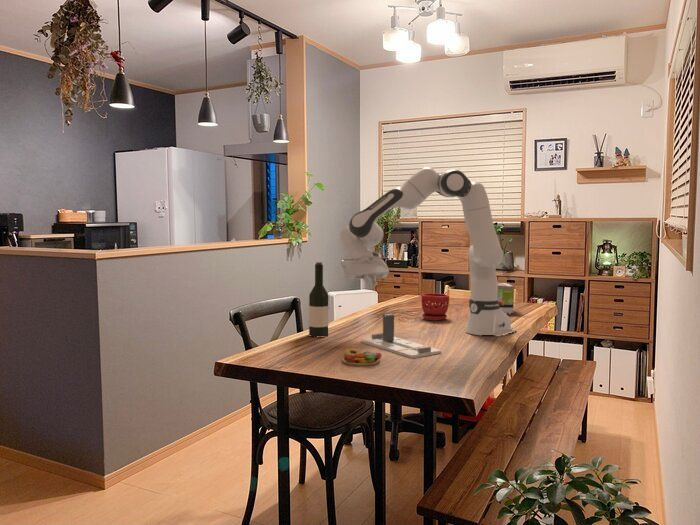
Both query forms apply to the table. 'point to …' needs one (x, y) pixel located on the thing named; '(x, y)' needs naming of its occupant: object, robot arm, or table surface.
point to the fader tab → (388, 327)
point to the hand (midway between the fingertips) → (373, 285)
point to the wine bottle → (318, 305)
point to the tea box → (506, 297)
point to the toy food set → (360, 357)
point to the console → (401, 346)
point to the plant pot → (435, 306)
